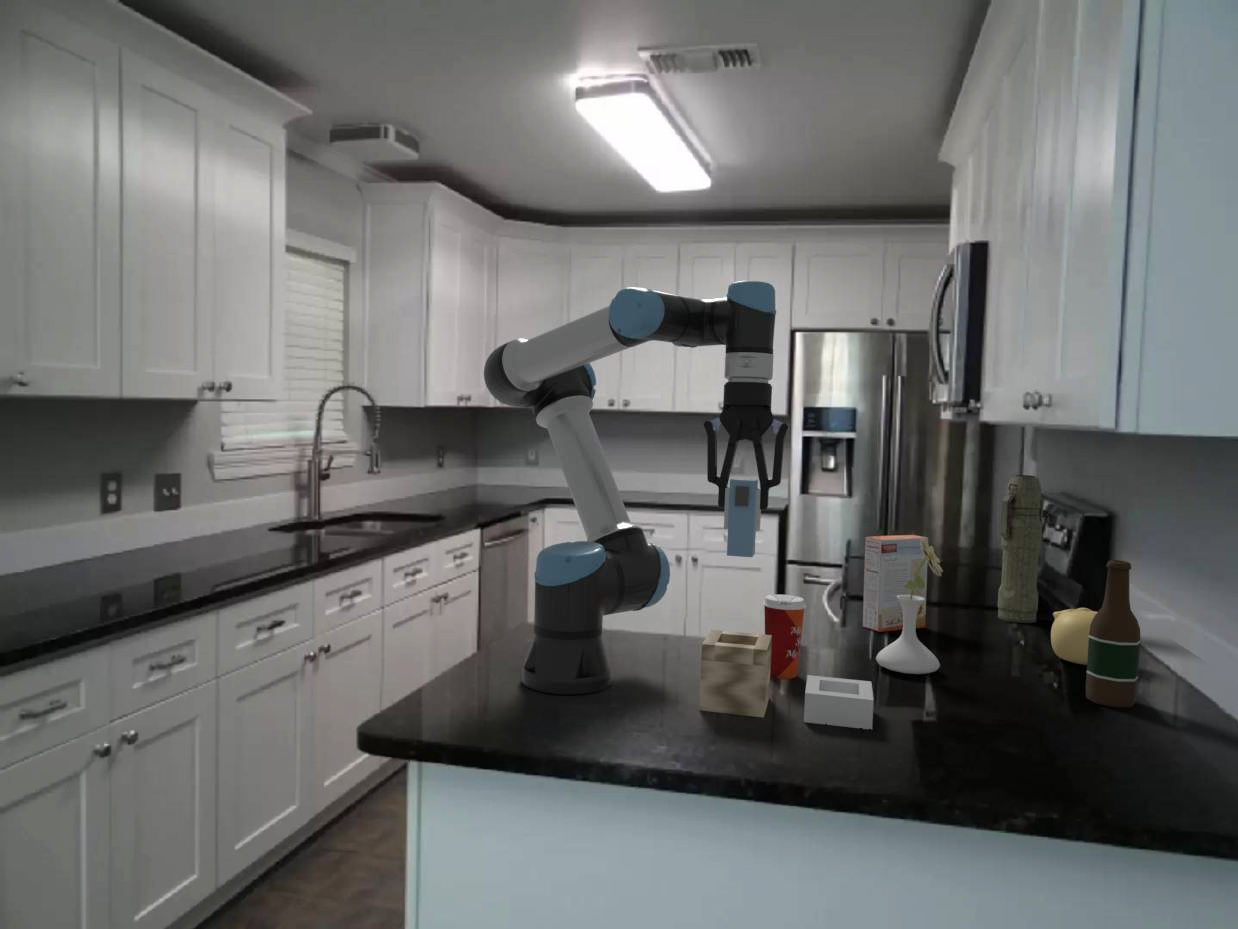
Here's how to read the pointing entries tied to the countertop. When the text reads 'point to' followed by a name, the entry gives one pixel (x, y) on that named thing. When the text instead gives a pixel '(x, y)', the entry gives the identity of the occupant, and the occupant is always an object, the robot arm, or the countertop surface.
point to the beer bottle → (1114, 644)
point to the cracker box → (891, 580)
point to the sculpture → (1072, 634)
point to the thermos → (1020, 549)
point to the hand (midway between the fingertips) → (741, 528)
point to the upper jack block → (735, 673)
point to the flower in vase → (912, 628)
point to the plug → (741, 517)
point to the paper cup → (784, 633)
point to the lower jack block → (839, 702)
